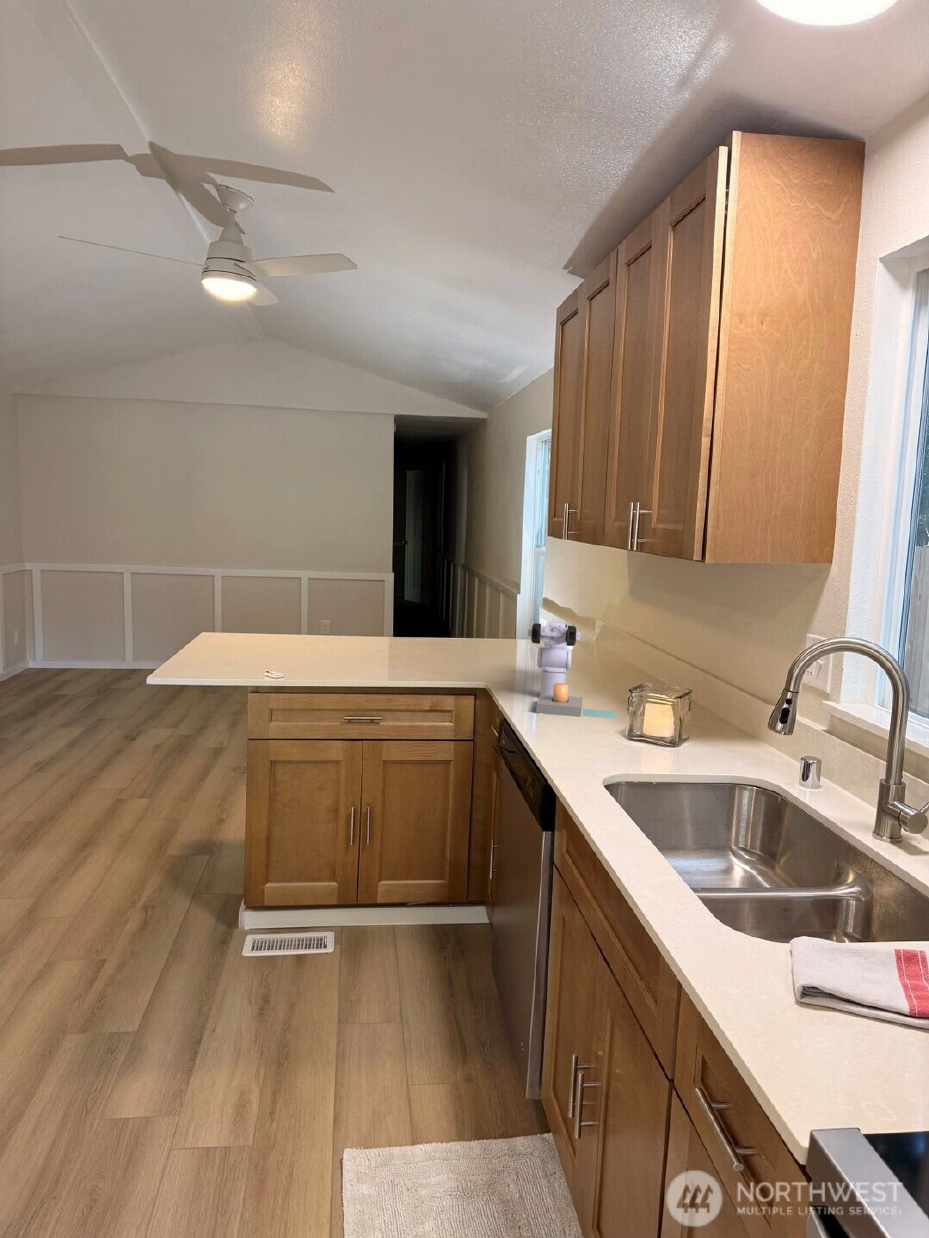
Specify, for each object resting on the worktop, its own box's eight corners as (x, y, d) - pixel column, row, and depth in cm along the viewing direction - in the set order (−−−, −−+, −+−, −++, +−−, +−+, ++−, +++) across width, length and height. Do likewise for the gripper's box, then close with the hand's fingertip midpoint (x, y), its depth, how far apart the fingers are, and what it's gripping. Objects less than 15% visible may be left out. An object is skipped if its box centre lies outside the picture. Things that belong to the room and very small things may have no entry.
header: (539, 704, 244) (540, 693, 243) (581, 707, 242) (582, 697, 241) (535, 714, 230) (536, 703, 230) (580, 718, 228) (581, 707, 228)
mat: (583, 710, 238) (583, 708, 238) (615, 713, 237) (616, 711, 237) (582, 717, 229) (582, 715, 229) (616, 720, 228) (616, 718, 228)
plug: (552, 707, 238) (554, 682, 237) (567, 708, 237) (568, 683, 237) (552, 710, 234) (553, 685, 233) (566, 711, 233) (568, 686, 233)
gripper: (530, 618, 244) (526, 619, 231) (581, 621, 242) (580, 622, 229) (529, 642, 244) (525, 644, 231) (579, 646, 242) (578, 648, 229)
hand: (552, 635), depth 230 cm, fingers open, 7 cm apart
